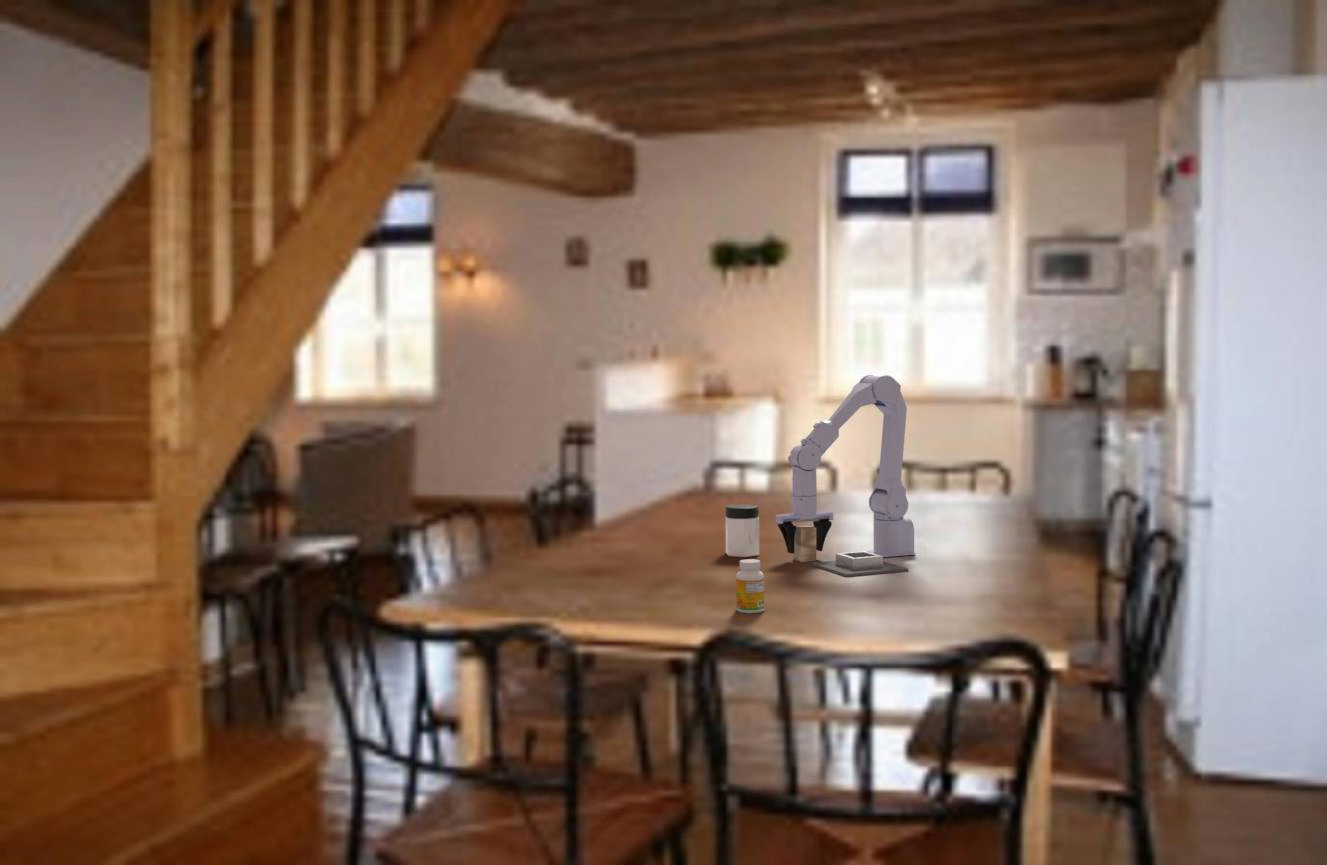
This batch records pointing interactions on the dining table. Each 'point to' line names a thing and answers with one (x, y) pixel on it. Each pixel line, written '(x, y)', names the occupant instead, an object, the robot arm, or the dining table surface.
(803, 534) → the beige block
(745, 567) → the supplement bottle
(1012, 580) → the dining table surface
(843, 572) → the mat
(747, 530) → the jar
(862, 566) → the socket
